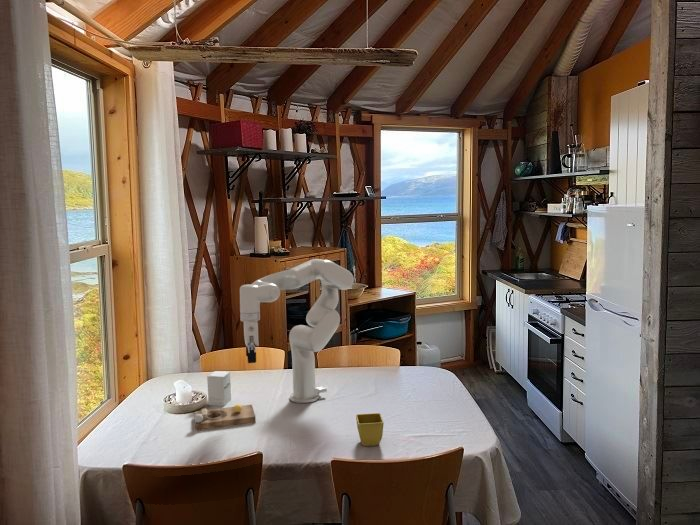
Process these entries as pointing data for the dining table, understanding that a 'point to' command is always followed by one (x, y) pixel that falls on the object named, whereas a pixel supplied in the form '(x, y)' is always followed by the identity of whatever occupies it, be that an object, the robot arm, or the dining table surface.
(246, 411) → the board
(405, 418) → the dining table surface
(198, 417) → the grey ball
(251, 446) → the dining table surface
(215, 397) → the supplement box
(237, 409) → the ball
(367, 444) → the flower pot
